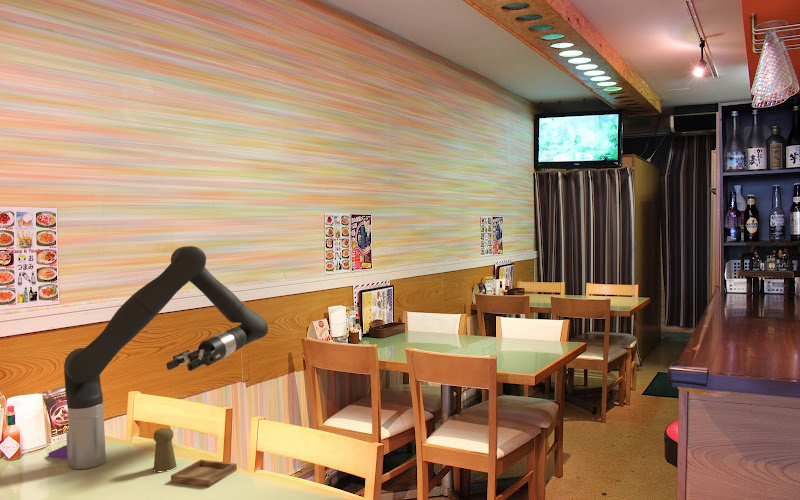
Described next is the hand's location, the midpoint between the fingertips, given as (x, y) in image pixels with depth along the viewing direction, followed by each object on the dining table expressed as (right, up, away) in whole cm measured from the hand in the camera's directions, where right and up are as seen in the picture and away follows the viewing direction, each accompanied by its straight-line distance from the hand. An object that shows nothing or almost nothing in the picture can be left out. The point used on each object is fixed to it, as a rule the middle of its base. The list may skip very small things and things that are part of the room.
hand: (178, 367), depth 180 cm
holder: (+12, -27, -13) cm, 32 cm away
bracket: (-35, -29, +10) cm, 46 cm away
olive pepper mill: (-2, -27, -5) cm, 28 cm away
